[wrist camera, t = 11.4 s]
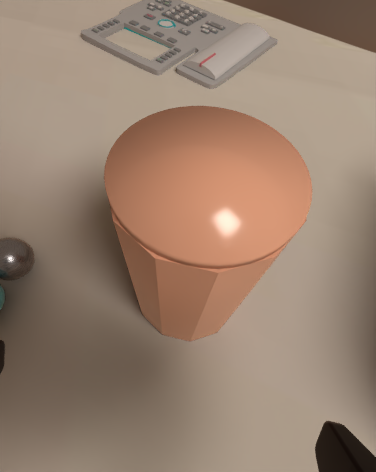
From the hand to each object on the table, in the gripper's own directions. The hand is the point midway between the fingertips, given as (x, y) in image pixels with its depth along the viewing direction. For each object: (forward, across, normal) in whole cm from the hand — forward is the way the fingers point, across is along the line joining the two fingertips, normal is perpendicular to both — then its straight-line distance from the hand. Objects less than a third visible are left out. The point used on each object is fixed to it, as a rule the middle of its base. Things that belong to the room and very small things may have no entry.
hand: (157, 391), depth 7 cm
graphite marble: (+11, +13, +2) cm, 17 cm away
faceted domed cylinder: (+13, 0, +3) cm, 13 cm away
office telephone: (+40, +9, -24) cm, 47 cm away
